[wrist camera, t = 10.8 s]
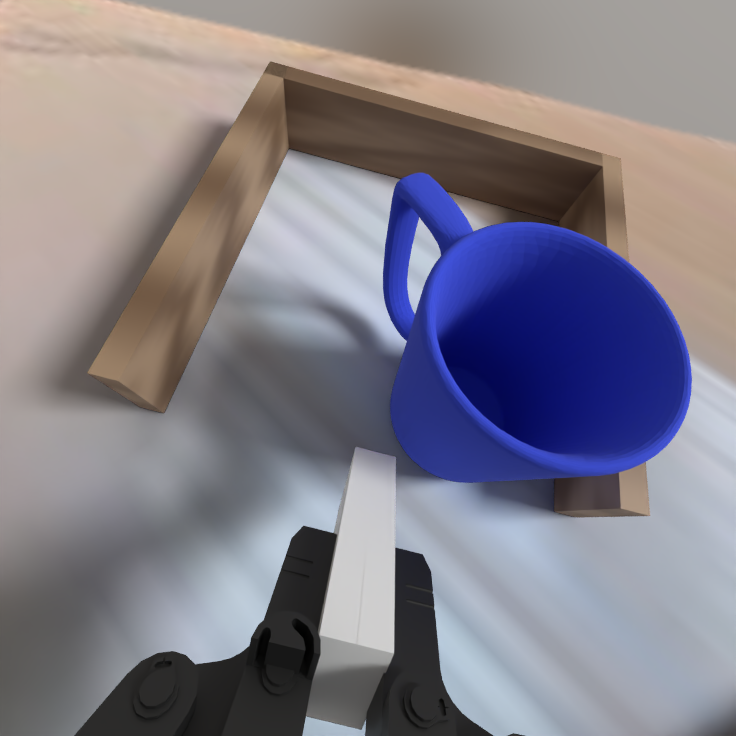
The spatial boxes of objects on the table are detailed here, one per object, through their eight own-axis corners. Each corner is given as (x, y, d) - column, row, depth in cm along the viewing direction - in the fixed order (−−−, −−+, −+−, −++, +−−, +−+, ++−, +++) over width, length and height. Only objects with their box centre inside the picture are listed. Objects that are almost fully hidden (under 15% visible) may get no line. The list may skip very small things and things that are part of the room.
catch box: (576, 517, 19) (649, 515, 14) (140, 406, 18) (87, 373, 14) (574, 213, 27) (620, 158, 23) (277, 133, 27) (270, 61, 22)
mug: (431, 279, 23) (504, 121, 14) (552, 449, 20) (751, 386, 11) (313, 329, 21) (308, 178, 12) (427, 531, 18) (546, 542, 8)
